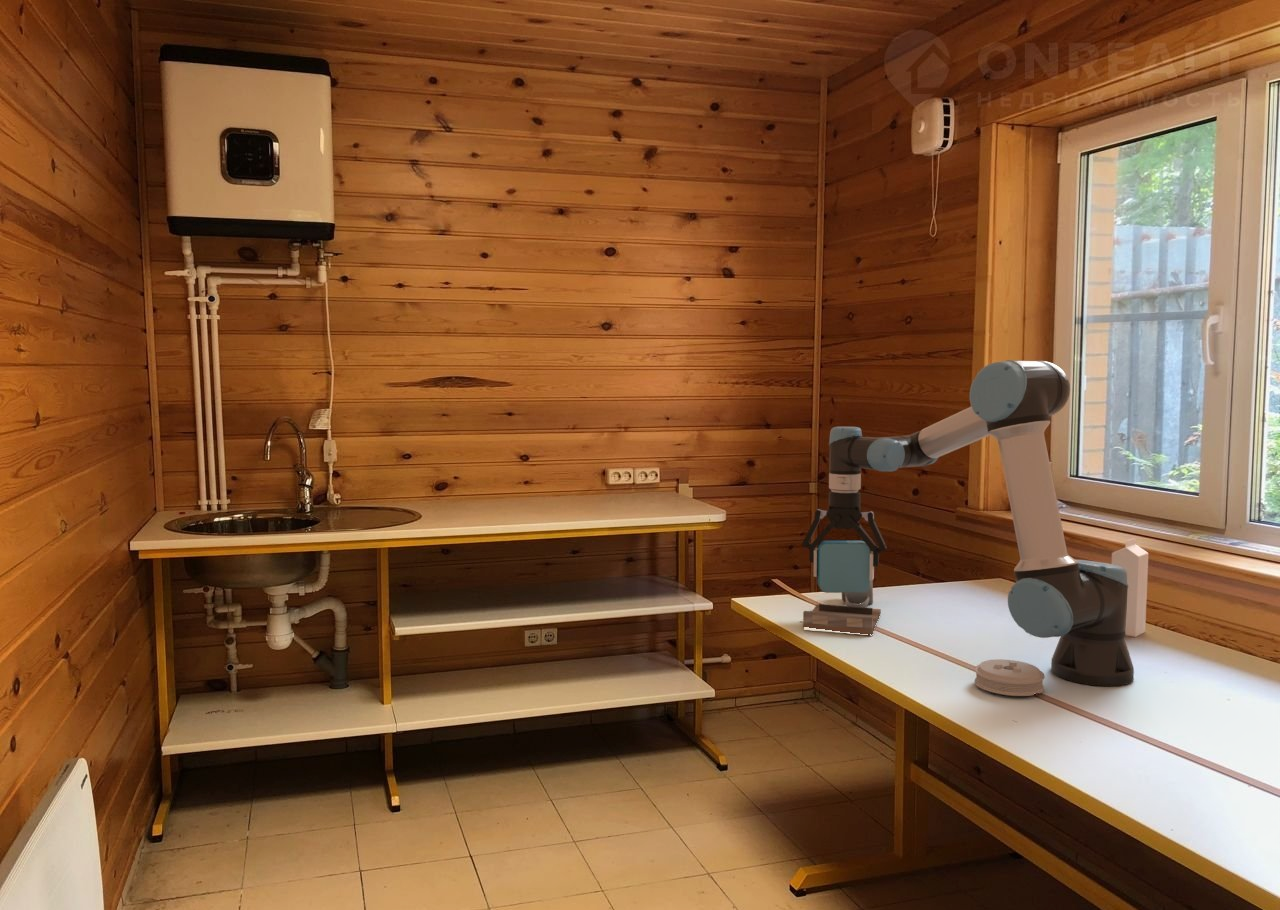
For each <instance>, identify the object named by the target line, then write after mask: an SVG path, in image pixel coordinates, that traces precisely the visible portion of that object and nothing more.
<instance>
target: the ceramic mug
mask: <svg viewBox="0 0 1280 910" xmlns="http://www.w3.org/2000/svg"><path fill="white" fill-rule="evenodd" d="M873 583H874V582H873V581H870V588H869V590H868V591H867V592H864V593H841V600H842V602H844V603H845V604H846V606H854V607H867V606H868V605H873V603H874V589H873V588H874V586H873V585H874V584H873ZM858 603H861V604H858Z"/></svg>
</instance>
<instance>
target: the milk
mask: <svg viewBox="0 0 1280 910" xmlns="http://www.w3.org/2000/svg"><path fill="white" fill-rule="evenodd" d="M1136 543H1137V539H1136V537H1134V538H1130V539H1127V540H1125V545H1124V547H1123V548H1121V549H1118V550H1115V551H1113V552H1111V564H1113V565H1117V566H1120V567H1123V568H1124V569H1125V570H1126V572H1127V584H1128V591H1127V612H1126V631H1125V636H1127V637H1132V638H1133V637H1134V638H1136V637H1139V636H1140V635H1143V634H1144V633H1146V621H1147V601H1148V600H1147V596H1148V595H1147V594H1148V574H1149V572H1148V571H1149V552H1148V551H1146V550H1145V549H1144V548H1142V547H1140V545H1137V544H1136Z"/></svg>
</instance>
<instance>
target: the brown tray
mask: <svg viewBox="0 0 1280 910" xmlns="http://www.w3.org/2000/svg"><path fill="white" fill-rule="evenodd" d="M881 611H882V609H881V608H873V607H867V606H866V607H854V606H847V605H839V604H826V603H819V604H816V605H815V607H814V608H813V609H812V611H810V610H804V611H803V612H802V613H803V614H802V616H803V619H802V621H803V622H802V625H803V627H809V628H816V629H825V630H832V631H840V632H850V633H860V634H868V635H870V634H871V635H872V634H873V635H874V633H873V631H874V632H875V630H874V628H875V625H876V623H877V621H878V622H879V620H880V618H879V616H880V614H881ZM880 617H881V616H880ZM878 619H879V620H878ZM877 624H878V623H877ZM876 626H877V625H876ZM803 627H802V628H803ZM875 629H876V628H875ZM873 635H872V636H873Z"/></svg>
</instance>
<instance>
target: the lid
mask: <svg viewBox="0 0 1280 910" xmlns="http://www.w3.org/2000/svg"><path fill="white" fill-rule="evenodd" d="M974 671H975V674H976V675H975V679H974V684H975V685H976V686H977V687H978V688H980V689H982V690H983V691H987V692H990V693H994V694H998V695H1002V696H1003V695H1004V696H1013V697H1026V696H1027V697H1028V696H1035V695H1034V693H1039V694H1041V693H1043V692H1044V691H1045V686H1044V679H1045V678H1046V677H1045V675H1046V674H1045V673H1044V672H1043V671H1041V670H1040V668H1038V667H1037V666H1036V665H1034V664H1031V663H1028V662H1024V661H1019V660H1014V659H1001V658H1000V659H999V658H998V659H988V660H985V661H981V662H980V663H979V664H977V665H976V666H975V667H974Z"/></svg>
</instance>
